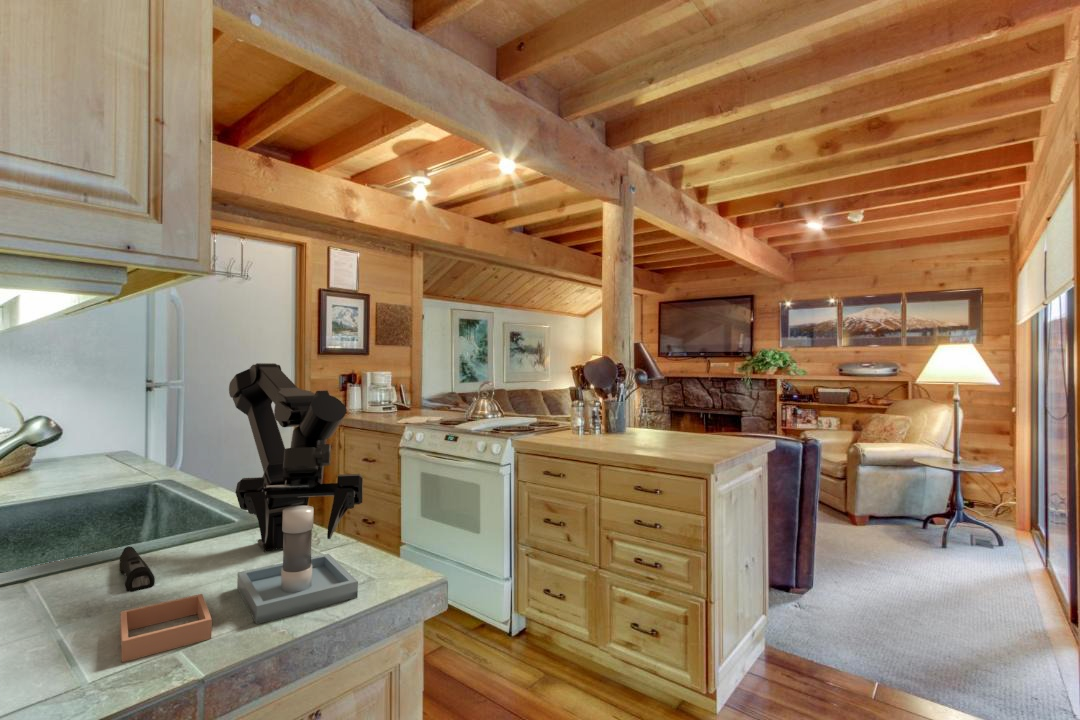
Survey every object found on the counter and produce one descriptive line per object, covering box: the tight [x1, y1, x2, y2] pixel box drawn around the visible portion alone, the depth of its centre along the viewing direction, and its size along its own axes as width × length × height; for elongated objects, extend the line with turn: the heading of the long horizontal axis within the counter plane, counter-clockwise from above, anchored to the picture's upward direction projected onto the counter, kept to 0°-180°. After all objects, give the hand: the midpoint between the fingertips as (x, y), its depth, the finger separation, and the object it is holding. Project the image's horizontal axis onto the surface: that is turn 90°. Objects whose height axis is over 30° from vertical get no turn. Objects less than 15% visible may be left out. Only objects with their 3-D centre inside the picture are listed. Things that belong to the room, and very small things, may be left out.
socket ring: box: [120, 593, 213, 663], centre depth 71 cm, size 9×9×2 cm
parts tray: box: [236, 553, 359, 625], centre depth 84 cm, size 14×14×2 cm
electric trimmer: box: [119, 546, 156, 593], centre depth 89 cm, size 4×16×3 cm, turn 43°
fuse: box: [281, 505, 315, 593], centre depth 84 cm, size 4×4×12 cm
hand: (296, 540), depth 83 cm, fingers open, 9 cm apart
